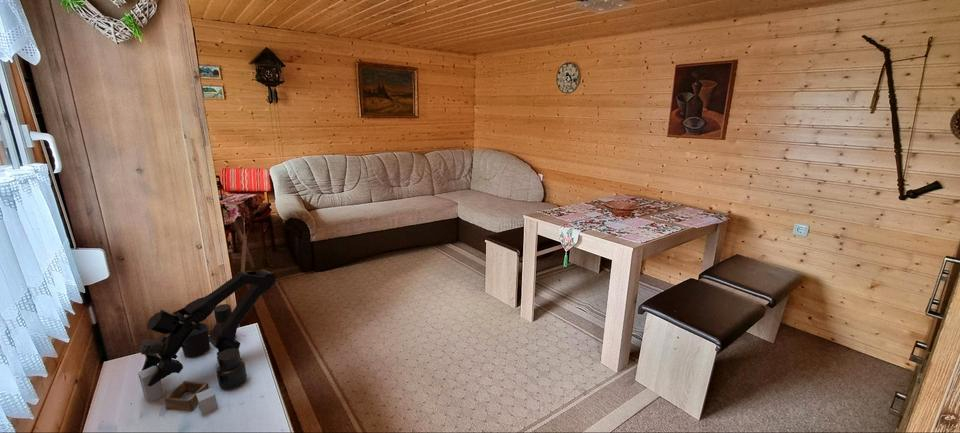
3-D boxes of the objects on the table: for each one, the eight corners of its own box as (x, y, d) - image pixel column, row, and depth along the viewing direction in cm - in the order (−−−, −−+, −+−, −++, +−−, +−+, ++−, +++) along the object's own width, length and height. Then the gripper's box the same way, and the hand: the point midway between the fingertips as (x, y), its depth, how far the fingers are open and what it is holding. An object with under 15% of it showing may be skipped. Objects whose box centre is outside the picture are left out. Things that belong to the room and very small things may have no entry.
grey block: (214, 400, 138) (211, 387, 136) (217, 408, 135) (215, 394, 133) (198, 407, 134) (195, 394, 133) (202, 415, 131) (199, 401, 130)
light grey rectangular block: (160, 389, 142) (154, 365, 139) (164, 395, 139) (158, 371, 136) (144, 397, 138) (137, 372, 135) (148, 403, 136) (142, 378, 133)
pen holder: (216, 348, 164) (212, 326, 161) (192, 361, 156) (187, 339, 153) (201, 341, 168) (197, 320, 165) (177, 354, 160) (172, 332, 157)
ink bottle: (244, 370, 152) (239, 342, 149) (252, 382, 146) (247, 354, 143) (214, 382, 146) (209, 354, 142) (221, 395, 140) (215, 366, 136)
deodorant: (231, 333, 174) (226, 302, 170) (238, 338, 171) (233, 307, 166) (216, 339, 170) (210, 308, 165) (223, 345, 166) (217, 313, 162)
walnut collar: (186, 390, 142) (184, 380, 140) (209, 392, 141) (207, 383, 140) (166, 408, 133) (164, 399, 132) (191, 411, 133) (188, 401, 132)
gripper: (144, 321, 140) (110, 364, 134) (164, 341, 129) (128, 388, 124) (175, 330, 148) (144, 371, 143) (196, 350, 138) (164, 395, 132)
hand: (145, 381), depth 135 cm, fingers open, 7 cm apart
